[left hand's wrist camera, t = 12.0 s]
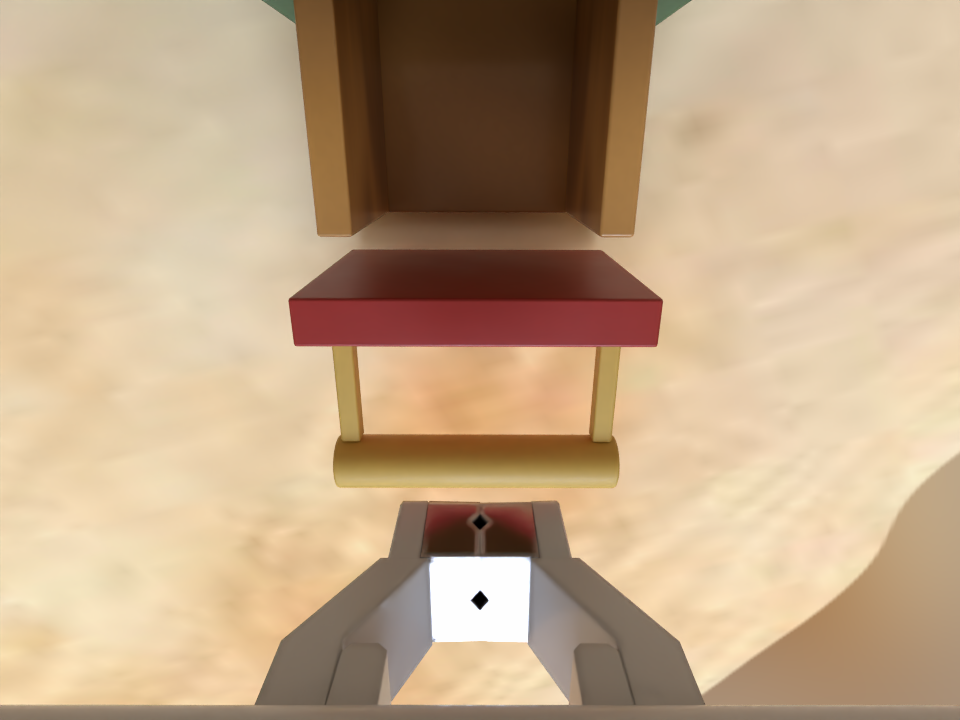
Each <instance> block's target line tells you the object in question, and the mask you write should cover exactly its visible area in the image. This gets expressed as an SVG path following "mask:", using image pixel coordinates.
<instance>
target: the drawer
mask: <svg viewBox="0 0 960 720" xmlns="http://www.w3.org/2000/svg"><path fill="white" fill-rule="evenodd" d="M293 3H294V12H295V22H296V32H297V41H298V51H299V61H300V70H301V80H302V90H303V99H304V109H305V118H306V128H307V138H308V147H309V157H310V167H311V176H312V186H313V196H314V205H315V215H316V225H317V234H318V236H320V237H350V236H352V235H354V234H355V233H357V232H358V231H360V230H362V229H363V228H365V227H366V226H368V225H369V224H371V223H372V222H374V221H375V220H377V219H378V218H380V217H381V216H383V215H384V214H386V213H387V212H566V213H568V214H569V215H571V216H572V217H573V218H575V219H576V220H578V221H579V222H581V223H582V224H583V225H585V226H586V227H588V228H589V229H591V230H592V231H593V232H595V233H596V234H598V235H599V236H601V237H632V236H633V235H634V229H635V220H636V210H637V200H638V190H639V181H640V171H641V161H642V151H643V142H644V132H645V122H646V113H647V103H648V93H649V83H650V74H651V64H652V54H653V44H654V35H655V25H656V15H657V6H658V0H293ZM662 305H663V300H662V299H661V298H660V297H659V296H657V295H656V294H655V293H654V292H653V291H651V290H650V289H649V288H648V287H646V286H645V285H644V284H643V283H641V282H640V281H639V280H638V279H636V278H635V277H634V276H633V275H631V274H630V273H629V272H628V271H627V270H625V269H624V268H623V267H622V266H620V265H619V264H618V263H617V262H615V261H614V260H613V259H612V258H610V257H609V256H608V255H607V254H605V253H604V252H603V251H601V250H352V251H350V252H349V253H348V254H346V255H345V256H344V257H343V258H341V259H340V260H339V261H337V262H336V263H335V264H333V265H332V266H331V267H330V268H328V269H327V270H326V271H324V272H323V273H322V274H320V275H319V276H318V277H317V278H315V279H314V280H313V281H311V282H310V283H309V284H307V285H306V286H305V287H304V288H302V289H301V290H300V291H298V292H297V293H296V294H295V295H293V296H292V297H291V298H289V308H290V316H291V324H292V332H293V339H294V345H295V346H332V350H333V359H334V369H335V379H336V389H337V399H338V409H339V419H340V428H341V435H340V436H339V437H338V439H337V442H336V445H335V450H334V458H333V473H334V479H335V483H336V485H337V486H338V487H340V488H614V487H615V486H616V485H617V482H618V478H619V452H618V447H617V443H616V440H615V438H614V437H613V436H612V428H613V418H614V408H615V398H616V388H617V378H618V369H619V359H620V349H621V347H656V346H657V344H658V337H659V329H660V321H661V313H662ZM357 346H448V347H596V358H595V370H594V382H593V393H592V405H591V417H590V429H589V434H590V435H387V434H363V433H364V429H363V417H362V406H361V394H360V382H359V370H358V358H357Z"/></svg>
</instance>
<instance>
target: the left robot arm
mask: <svg viewBox="0 0 960 720" xmlns="http://www.w3.org/2000/svg"><path fill="white" fill-rule="evenodd" d="M479 640H480V641H515V642H528V645H529V647H530V648H531V649H532V651H533V652H534V654H535V655H536V656H537V658H538V659H539V660H540V662H541V663H542V665H543V666H544V667H545V669H546V670H547V672H548V673H549V674H550V676H551V677H552V679H553V680H554V681H555V683H556V684H557V686H558V687H559V688H560V690H561V691H562V692H563V694H564V695H565V697H566V698H567V699H568V701H569V705H391V701H392V700H393V698H394V697H395V696H396V694H397V693H398V691H399V690H400V689H401V687H402V686H403V685H404V683H405V682H406V680H407V679H408V678H409V676H410V675H411V673H412V672H413V671H414V669H415V668H416V667H417V665H418V664H419V662H420V661H421V660H422V658H423V657H424V655H425V654H426V653H427V651H428V650H429V649H430V647H431V646H432V642H445V641H479ZM0 720H960V705H705V703H704V700H703V698H702V696H701V693H700V691H699V688H698V686H697V683H696V681H695V678H694V676H693V674H692V671H691V669H690V666H689V664H688V661H687V659H686V656H685V654H684V651H683V649H682V647H681V644H680V642H679V641H678V640H677V639H676V638H675V637H673V636H672V635H671V634H670V633H669V632H667V631H666V630H665V629H664V628H663V627H661V626H660V625H659V624H658V623H657V622H655V621H654V620H653V619H652V618H651V617H649V616H648V615H647V614H646V613H645V612H643V611H642V610H641V609H640V608H639V607H637V606H636V605H635V604H634V603H633V602H631V601H630V600H629V599H628V598H627V597H625V596H624V595H623V594H622V593H621V592H619V591H618V590H617V589H616V588H615V587H613V586H612V585H611V584H610V583H609V582H607V581H606V580H605V579H604V578H603V577H602V576H600V575H599V574H598V573H597V572H596V571H594V570H593V569H592V568H591V567H590V566H588V565H587V564H586V563H585V562H584V561H582V560H581V559H580V558H572V557H571V553H570V548H569V544H568V540H567V535H566V531H565V527H564V522H563V518H562V514H561V509H560V505H559V503H558V502H557V501H531V502H505V503H480V502H448V501H429V502H428V501H403V502H402V504H401V505H400V509H399V513H398V517H397V522H396V526H395V531H394V535H393V539H392V544H391V548H390V552H389V557H388V558H380V559H379V560H378V561H376V562H375V563H374V564H373V565H372V566H370V567H369V568H368V569H367V570H366V571H364V572H363V573H362V574H361V575H360V576H358V577H357V578H356V579H355V580H354V581H352V582H351V583H350V584H349V585H348V586H346V587H345V588H344V589H343V590H342V591H340V592H339V593H338V594H337V595H336V596H334V597H333V598H332V599H331V600H330V601H328V602H327V603H326V604H325V605H324V606H322V607H321V608H320V609H319V610H318V611H316V612H315V613H314V614H313V615H312V616H310V617H309V618H308V619H307V620H306V621H304V622H303V623H302V624H301V625H299V626H298V627H297V628H296V629H295V630H293V631H292V632H291V633H290V634H289V635H287V636H286V637H285V638H284V639H283V640H281V642H280V645H279V647H278V650H277V652H276V654H275V657H274V659H273V662H272V664H271V667H270V669H269V671H268V674H267V676H266V679H265V681H264V683H263V686H262V688H261V691H260V693H259V695H258V698H257V700H256V703H255V705H0Z"/></svg>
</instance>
